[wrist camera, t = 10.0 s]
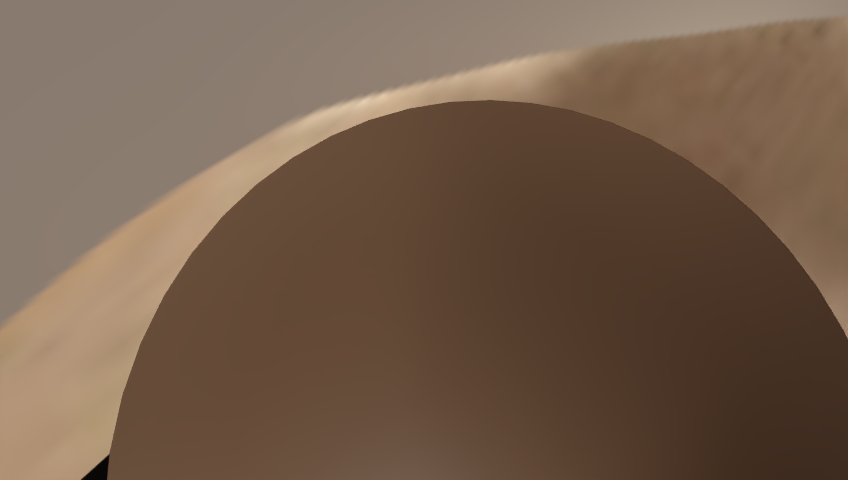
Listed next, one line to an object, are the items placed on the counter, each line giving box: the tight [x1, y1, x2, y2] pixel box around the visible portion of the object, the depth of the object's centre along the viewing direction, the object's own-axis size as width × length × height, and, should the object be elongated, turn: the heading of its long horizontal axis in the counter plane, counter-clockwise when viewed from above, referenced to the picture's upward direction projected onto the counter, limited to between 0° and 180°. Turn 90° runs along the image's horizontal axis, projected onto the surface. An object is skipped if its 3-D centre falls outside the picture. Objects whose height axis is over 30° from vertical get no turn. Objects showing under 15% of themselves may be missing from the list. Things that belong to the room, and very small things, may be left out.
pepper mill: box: [107, 100, 848, 480], centre depth 10 cm, size 5×5×15 cm
